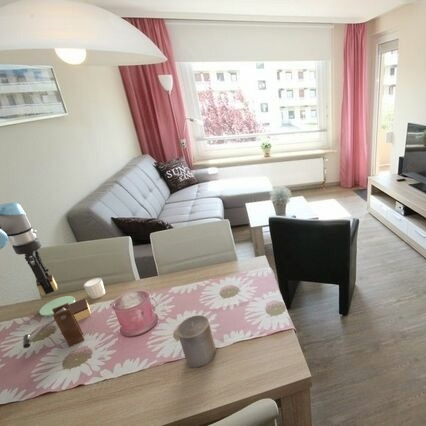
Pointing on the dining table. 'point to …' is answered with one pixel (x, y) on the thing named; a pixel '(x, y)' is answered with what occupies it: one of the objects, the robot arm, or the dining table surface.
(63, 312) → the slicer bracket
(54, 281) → the cake slice
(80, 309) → the cake
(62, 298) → the plate
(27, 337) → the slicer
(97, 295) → the white ribbed ramekin
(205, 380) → the dining table surface
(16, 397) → the dining table surface
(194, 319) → the pillar candle
